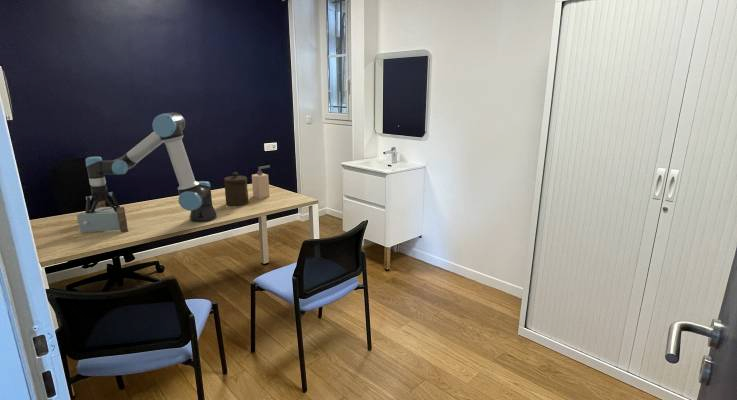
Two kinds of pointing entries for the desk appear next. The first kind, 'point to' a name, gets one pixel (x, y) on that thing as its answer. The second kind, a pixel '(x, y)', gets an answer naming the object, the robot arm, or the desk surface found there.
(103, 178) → the robot arm
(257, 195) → the soap dispenser
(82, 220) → the door
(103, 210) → the toilet tissue
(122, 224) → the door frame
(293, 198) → the desk surface
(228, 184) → the wooden container
